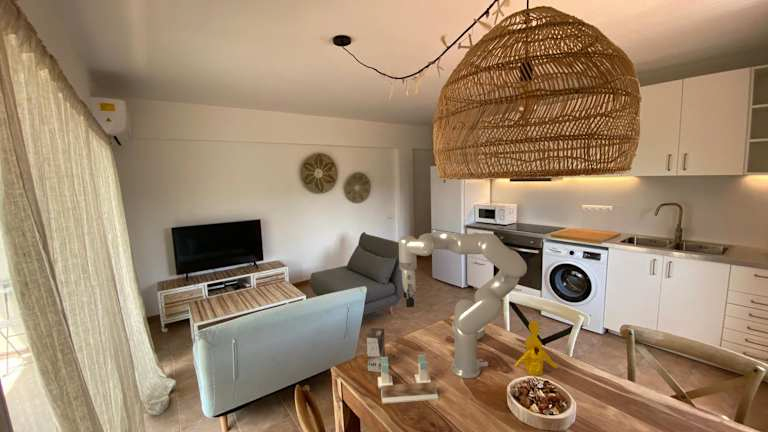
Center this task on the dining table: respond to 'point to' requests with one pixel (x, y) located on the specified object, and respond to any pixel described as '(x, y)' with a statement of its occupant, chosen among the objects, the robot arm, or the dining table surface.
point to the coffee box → (375, 349)
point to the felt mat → (409, 398)
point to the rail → (409, 389)
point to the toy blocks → (422, 370)
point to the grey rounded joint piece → (479, 333)
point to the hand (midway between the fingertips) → (408, 302)
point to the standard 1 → (384, 373)
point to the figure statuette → (534, 352)
